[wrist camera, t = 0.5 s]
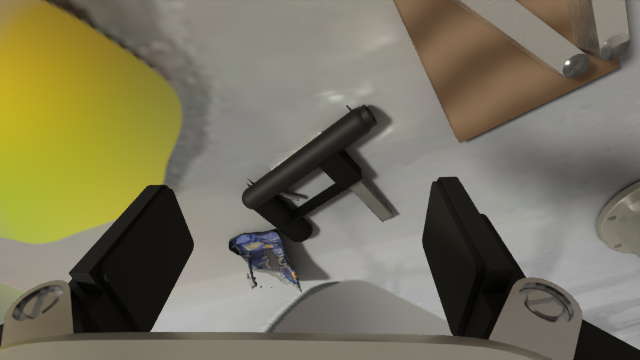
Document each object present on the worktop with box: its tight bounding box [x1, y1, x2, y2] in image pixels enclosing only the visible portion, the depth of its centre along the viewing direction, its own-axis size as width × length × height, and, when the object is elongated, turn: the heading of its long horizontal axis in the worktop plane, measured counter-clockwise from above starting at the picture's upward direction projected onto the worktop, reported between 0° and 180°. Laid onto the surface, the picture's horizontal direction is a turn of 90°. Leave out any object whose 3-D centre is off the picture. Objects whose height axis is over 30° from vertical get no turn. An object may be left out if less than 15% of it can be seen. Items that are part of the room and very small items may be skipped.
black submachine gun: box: [242, 105, 393, 242], centre depth 39 cm, size 3×20×16 cm
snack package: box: [229, 229, 302, 292], centre depth 45 cm, size 12×6×12 cm
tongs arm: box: [451, 0, 590, 78], centre depth 25 cm, size 20×2×3 cm, turn 61°
